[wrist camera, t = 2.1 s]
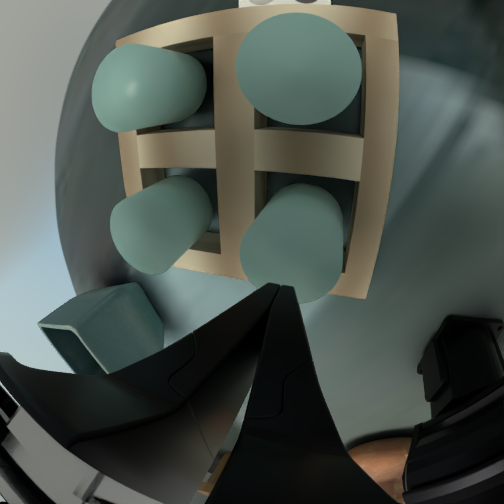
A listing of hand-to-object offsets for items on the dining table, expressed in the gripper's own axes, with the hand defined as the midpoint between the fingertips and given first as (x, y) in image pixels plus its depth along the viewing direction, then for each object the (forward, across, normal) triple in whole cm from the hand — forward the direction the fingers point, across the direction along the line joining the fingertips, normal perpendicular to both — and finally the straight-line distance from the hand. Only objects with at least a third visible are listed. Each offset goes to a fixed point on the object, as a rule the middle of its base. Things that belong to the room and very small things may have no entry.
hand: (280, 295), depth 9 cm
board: (+8, +4, -4) cm, 10 cm away
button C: (+6, +7, 0) cm, 9 cm away
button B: (+6, 0, -7) cm, 9 cm away
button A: (+6, 0, 0) cm, 6 cm away
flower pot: (+8, +16, +11) cm, 21 cm away
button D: (+6, +7, -7) cm, 12 cm away
